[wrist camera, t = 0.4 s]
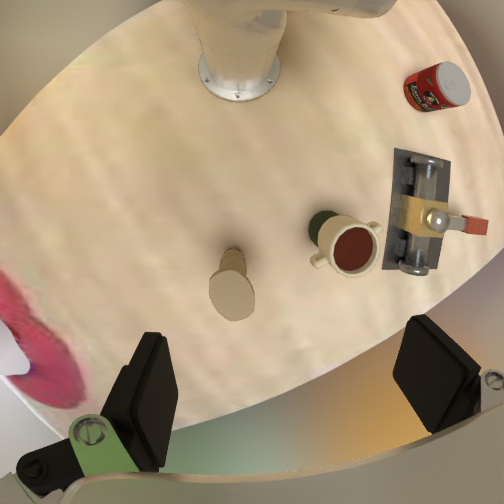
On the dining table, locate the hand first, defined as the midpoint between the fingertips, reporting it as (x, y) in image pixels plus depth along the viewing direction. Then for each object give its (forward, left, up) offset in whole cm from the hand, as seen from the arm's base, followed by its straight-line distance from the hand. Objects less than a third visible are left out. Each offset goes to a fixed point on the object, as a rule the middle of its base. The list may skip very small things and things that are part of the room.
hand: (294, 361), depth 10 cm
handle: (+7, -3, -36) cm, 37 cm away
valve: (-2, +31, -36) cm, 48 cm away
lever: (-2, +35, -29) cm, 45 cm away
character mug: (+2, +12, -36) cm, 38 cm away
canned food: (-25, +30, -36) cm, 53 cm away
